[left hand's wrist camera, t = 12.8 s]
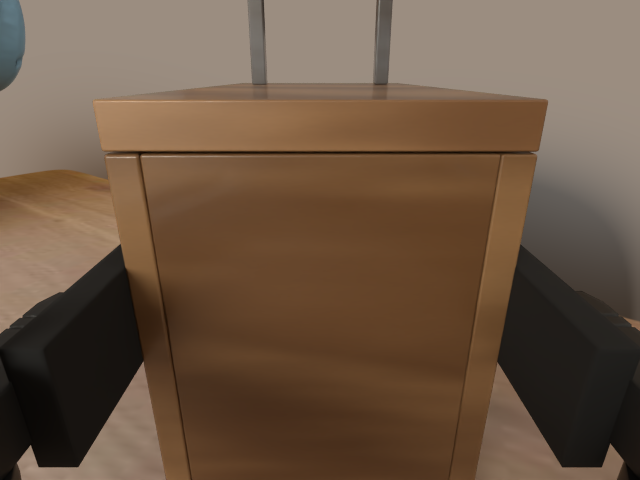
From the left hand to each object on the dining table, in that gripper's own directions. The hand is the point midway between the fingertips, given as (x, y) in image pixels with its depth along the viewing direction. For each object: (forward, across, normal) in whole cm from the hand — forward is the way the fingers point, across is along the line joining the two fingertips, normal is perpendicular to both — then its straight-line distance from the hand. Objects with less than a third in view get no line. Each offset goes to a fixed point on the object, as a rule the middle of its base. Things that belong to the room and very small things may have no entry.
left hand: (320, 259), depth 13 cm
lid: (+5, 0, +4) cm, 7 cm away
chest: (+5, 0, -7) cm, 9 cm away
